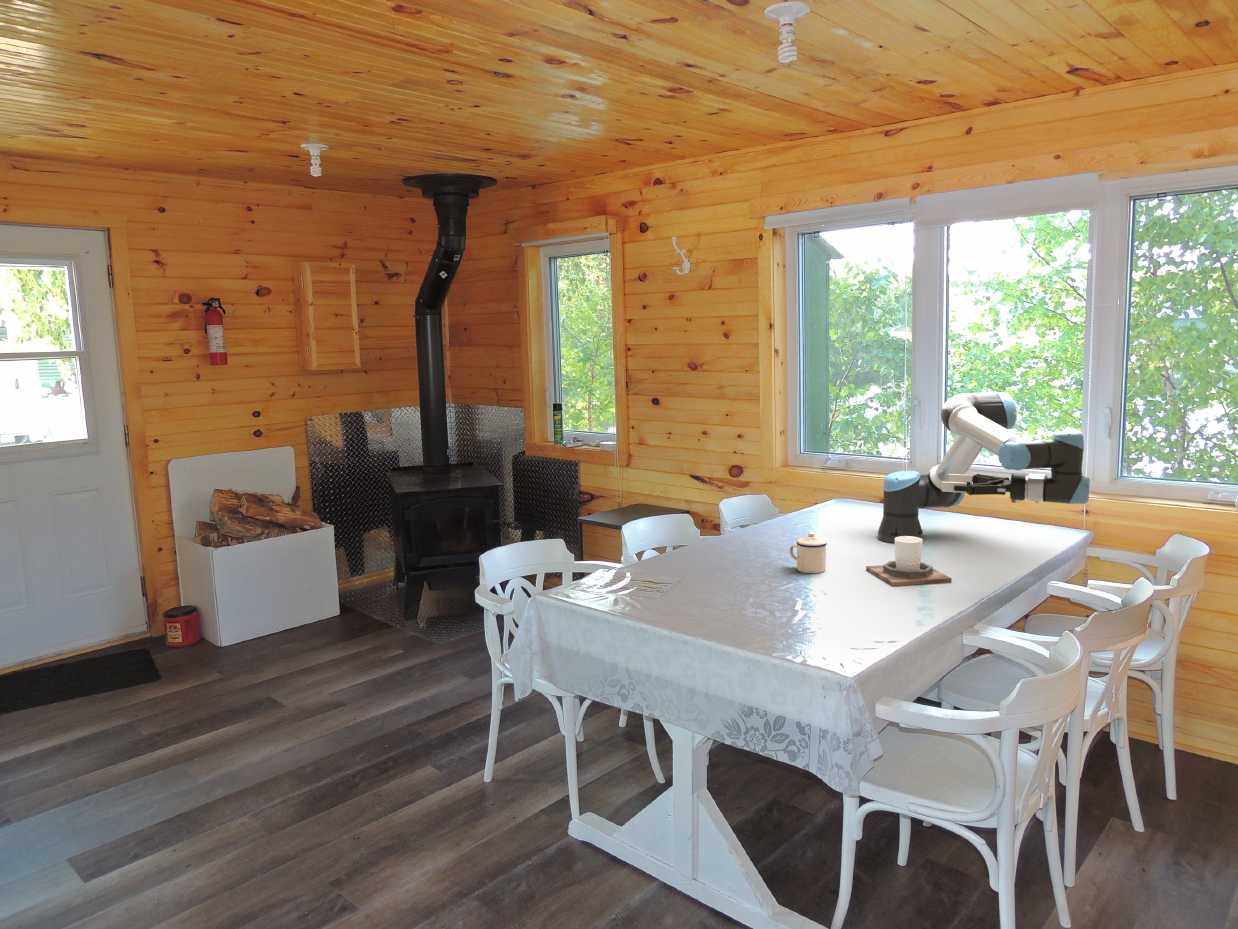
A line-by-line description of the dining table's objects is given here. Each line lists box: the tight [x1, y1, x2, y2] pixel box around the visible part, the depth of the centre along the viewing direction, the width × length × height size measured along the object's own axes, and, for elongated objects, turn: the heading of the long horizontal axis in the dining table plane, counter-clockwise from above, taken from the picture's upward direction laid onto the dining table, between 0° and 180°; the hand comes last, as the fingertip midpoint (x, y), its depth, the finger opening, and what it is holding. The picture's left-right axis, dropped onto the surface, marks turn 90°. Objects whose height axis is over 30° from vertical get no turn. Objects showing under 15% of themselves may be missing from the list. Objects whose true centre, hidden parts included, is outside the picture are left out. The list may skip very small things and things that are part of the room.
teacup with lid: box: [789, 532, 828, 574], centre depth 274 cm, size 12×9×12 cm
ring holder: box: [865, 560, 953, 587], centre depth 265 cm, size 18×18×3 cm
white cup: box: [894, 536, 924, 571], centre depth 264 cm, size 8×8×10 cm
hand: (945, 482), depth 256 cm, fingers open, 13 cm apart
